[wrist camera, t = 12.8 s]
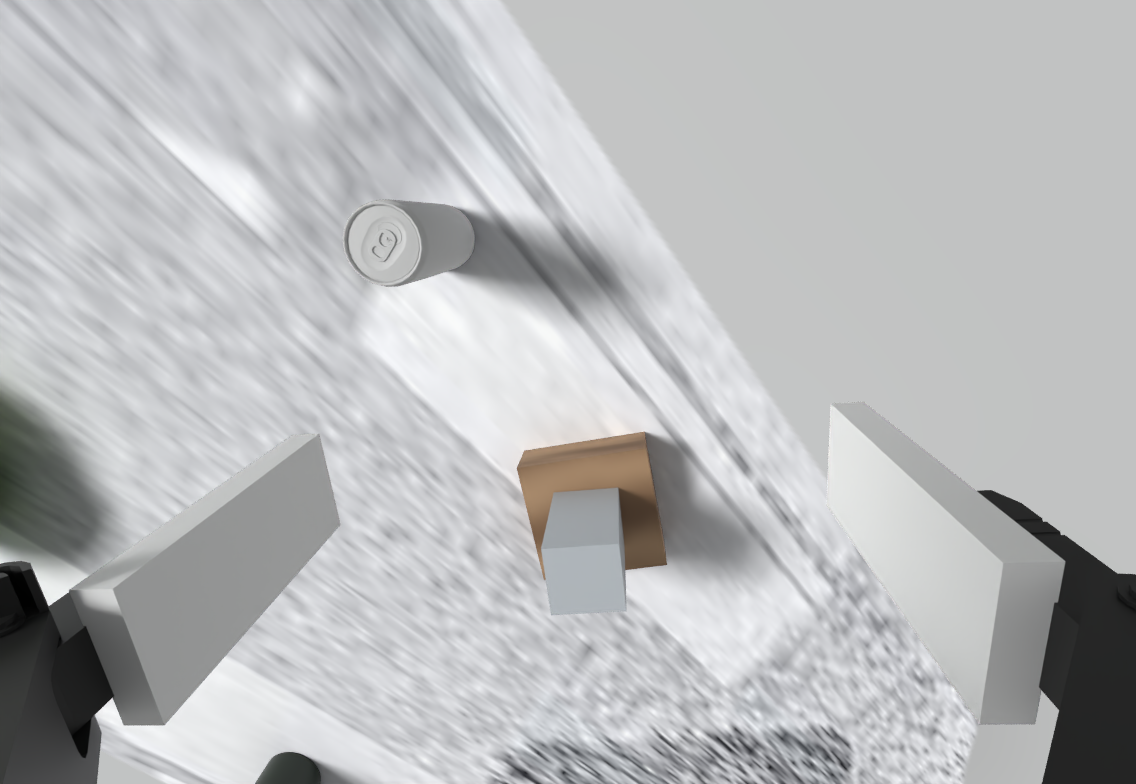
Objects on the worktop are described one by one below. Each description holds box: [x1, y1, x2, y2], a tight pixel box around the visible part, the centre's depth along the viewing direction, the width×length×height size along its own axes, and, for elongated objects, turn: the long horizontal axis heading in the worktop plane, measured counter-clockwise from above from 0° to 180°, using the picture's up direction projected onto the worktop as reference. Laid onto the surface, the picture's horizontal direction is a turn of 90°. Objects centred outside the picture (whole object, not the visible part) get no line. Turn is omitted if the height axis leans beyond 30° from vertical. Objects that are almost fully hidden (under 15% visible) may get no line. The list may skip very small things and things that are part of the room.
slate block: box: [541, 488, 626, 615], centre depth 41 cm, size 5×5×8 cm
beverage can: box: [343, 200, 475, 287], centre depth 38 cm, size 5×5×12 cm
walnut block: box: [517, 432, 667, 580], centre depth 47 cm, size 10×10×4 cm
